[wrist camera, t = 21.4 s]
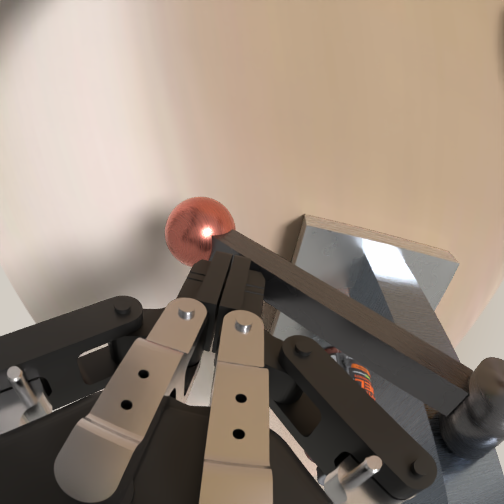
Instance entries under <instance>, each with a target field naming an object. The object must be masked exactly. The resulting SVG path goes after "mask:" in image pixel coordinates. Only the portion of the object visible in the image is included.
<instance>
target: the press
mask: <svg viewBox="0 0 504 504" xmlns="http://www.w3.org/2000/svg"><path fill="white" fill-rule="evenodd" d="M291 263H292V264H294V265H296V266H298V267H299V268H301V269H303V270H304V271H306V272H308V273H310V274H311V275H313V276H315V277H316V278H318V279H320V280H322V281H323V282H325V283H327V284H328V285H330V286H332V287H334V288H335V289H337V290H339V291H340V292H342V293H344V294H346V295H347V296H349V297H351V298H352V299H354V300H356V301H357V302H359V303H361V304H362V305H364V306H366V307H368V308H369V309H371V310H373V311H374V312H376V313H378V314H379V315H381V316H383V317H384V318H386V319H388V320H390V321H391V322H393V323H395V324H396V325H398V326H400V327H401V328H403V329H405V330H406V331H408V332H410V333H411V334H413V335H415V336H416V337H418V338H420V339H421V340H423V341H425V342H426V343H428V344H430V345H431V346H433V347H435V348H436V349H438V350H440V351H441V352H443V353H445V354H446V355H448V356H450V357H451V358H453V359H455V360H456V361H458V362H460V361H459V359H458V357H457V355H456V352H455V350H454V348H453V346H452V344H451V342H450V340H449V338H448V337H447V335H446V333H445V331H444V329H443V327H442V325H441V323H440V321H439V320H438V318H437V316H436V314H435V312H434V311H435V309H436V307H437V305H438V304H439V302H440V300H441V298H442V296H443V295H444V293H445V291H446V289H447V287H448V285H449V283H450V282H451V280H452V278H453V276H454V274H455V272H456V270H457V268H458V266H459V264H460V263H459V262H458V261H457V260H456V259H455V258H454V256H453V255H452V254H451V253H450V252H449V251H446V250H442V249H439V248H435V247H432V246H428V245H425V244H421V243H417V242H414V241H410V240H406V239H403V238H399V237H395V236H392V235H388V234H384V233H380V232H376V231H372V230H368V229H364V228H360V227H356V226H352V225H348V224H344V223H340V222H336V221H332V220H328V219H323V218H319V217H315V216H311V215H306V214H305V215H304V219H303V222H302V226H301V229H300V233H299V237H298V240H297V244H296V247H295V251H294V254H293V257H292V261H291ZM269 334H271V335H272V336H274V337H276V338H278V339H281V340H283V341H284V340H285V339H286V338H288V337H290V336H293V335H303V336H307V337H309V338H311V339H313V340H315V341H316V342H317V343H318V344H319V345H320V346H321V347H322V348H323V349H328V348H332V347H333V346H332V345H330V344H329V343H327V342H326V341H324V340H323V339H321V338H320V337H318V336H317V335H315V334H314V333H312V332H310V331H309V330H307V329H306V328H304V327H303V326H301V325H300V324H298V323H297V322H295V321H294V320H292V319H291V318H289V317H288V316H286V315H285V314H283V313H282V312H280V311H279V310H277V311H276V314H275V317H274V321H273V324H272V327H271V330H270V333H269ZM369 372H370V377H371V381H372V386H373V390H374V395H375V400H376V402H377V403H378V404H379V405H380V406H381V407H382V408H383V409H384V410H385V411H386V412H387V413H388V414H389V415H390V416H391V417H392V418H393V419H394V420H395V421H396V422H397V423H398V424H399V425H400V426H401V427H402V428H403V429H404V430H405V431H406V432H407V433H408V434H409V435H410V436H411V437H412V438H413V439H414V440H415V441H416V442H417V443H418V444H420V445H421V446H422V447H423V448H424V449H425V450H426V451H427V452H428V453H429V454H430V455H431V456H432V457H433V459H434V460H435V463H436V465H437V476H436V479H435V481H434V482H433V484H432V485H430V486H429V487H428V488H426V489H424V490H423V491H421V492H419V493H418V494H416V495H415V496H414V497H413V498H411V499H409V500H408V501H406V502H404V503H402V504H504V475H503V472H502V469H501V465H500V462H499V459H498V455H497V452H496V449H495V448H494V449H493V450H492V451H490V452H489V453H488V454H487V455H485V456H484V457H482V458H481V459H478V460H466V459H463V458H461V457H459V456H457V455H456V454H455V453H453V452H452V451H451V450H450V449H449V447H448V446H447V445H446V443H445V442H444V440H443V438H442V435H441V433H440V429H439V415H440V412H438V411H437V410H435V409H433V408H432V407H430V406H428V405H427V404H425V403H423V402H422V401H420V400H418V399H417V398H415V397H413V396H412V395H410V394H408V393H407V392H405V391H403V390H402V389H400V388H398V387H397V386H395V385H394V384H392V383H390V382H389V381H387V380H386V379H384V378H382V377H381V376H379V375H378V374H376V373H374V372H373V371H371V370H370V369H369Z"/></svg>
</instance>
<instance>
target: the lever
mask: <svg viewBox="0 0 504 504" xmlns="http://www.w3.org/2000/svg"><path fill="white" fill-rule="evenodd" d="M165 239H166V243H167V246H168V248H169V250H170V252H171V253H172V255H173V256H174V257H175V258H176V259H177V260H178V261H180V262H181V263H183V264H185V265H187V266H190V267H193V265H194V264H195V263H197V262H198V261H200V260H201V259H203V260H208V261H212V259H213V257H214V254H215V252H216V251H220V252H225V253H229V254H233V258H232V262H233V259H234V256H235V255H238V256H243V257H248V258H251V263H250V268H249V270H253V271H258V272H261V273H262V275H263V276H264V278H265V288H264V295H263V296H264V297H263V300H264V301H265V302H267V303H268V304H270V305H271V306H273V307H274V308H276V309H277V310H279V311H280V312H282V313H283V314H285V315H286V316H288V317H289V318H291V319H292V320H294V321H295V322H297V323H298V324H300V325H301V326H303V327H304V328H306V329H307V330H309V331H310V332H312V333H314V334H315V335H317V336H318V337H320V338H321V339H323V340H324V341H326V342H327V343H329V344H330V345H332V346H333V347H335V348H337V349H338V350H340V351H341V352H343V353H344V354H346V355H347V356H349V357H351V358H352V359H354V360H355V361H357V362H358V363H360V364H362V365H363V366H365V367H366V368H368V369H370V370H371V371H373V372H374V373H376V374H378V375H379V376H381V377H382V378H384V379H386V380H387V381H389V382H390V383H392V384H394V385H395V386H397V387H398V388H400V389H402V390H403V391H405V392H407V393H408V394H410V395H412V396H413V397H415V398H417V399H418V400H420V401H422V402H423V403H425V404H427V405H428V406H430V407H432V408H433V409H435V410H437V411H438V412H440V415H439V429H440V433H441V435H442V438H443V440H444V442H445V443H446V445H447V446H448V447H449V449H450V450H451V451H452V452H453V453H455V454H456V455H457V456H459V457H461V458H463V459H466V460H478V459H481V458H482V457H484V456H485V455H487V454H488V453H489V452H490V451H492V450H493V449H494V448H495V447H496V446H498V445H499V444H500V443H501V442H502V441H503V440H504V360H502V359H499V358H495V357H489V358H486V359H484V360H483V361H482V362H481V363H480V364H479V365H478V367H477V368H476V369H475V371H474V372H473V371H472V370H471V369H470V368H468V367H466V366H464V365H463V364H461V363H460V362H458V361H456V360H455V359H453V358H451V357H450V356H448V355H446V354H445V353H443V352H441V351H440V350H438V349H436V348H435V347H433V346H431V345H430V344H428V343H426V342H425V341H423V340H421V339H420V338H418V337H416V336H415V335H413V334H411V333H410V332H408V331H406V330H405V329H403V328H401V327H400V326H398V325H396V324H395V323H393V322H391V321H390V320H388V319H386V318H384V317H383V316H381V315H379V314H378V313H376V312H374V311H373V310H371V309H369V308H368V307H366V306H364V305H362V304H361V303H359V302H357V301H356V300H354V299H352V298H351V297H349V296H347V295H346V294H344V293H342V292H340V291H339V290H337V289H335V288H334V287H332V286H330V285H328V284H327V283H325V282H323V281H322V280H320V279H318V278H316V277H315V276H313V275H311V274H310V273H308V272H306V271H304V270H303V269H301V268H299V267H298V266H296V265H294V264H292V263H291V262H289V261H287V260H286V259H284V258H282V257H280V256H279V255H277V254H275V253H273V252H272V251H270V250H268V249H267V248H265V247H263V246H261V245H260V244H258V243H256V242H254V241H253V240H251V239H249V238H247V237H246V236H244V235H242V234H240V233H239V232H237V231H236V230H235V223H234V220H233V218H232V216H231V214H230V212H229V211H228V210H227V208H226V207H225V206H223V205H222V204H221V203H220V202H218V201H216V200H214V199H211V198H207V197H194V198H190V199H187V200H185V201H183V202H181V203H180V204H179V205H177V206H176V207H175V208H174V209H173V211H172V212H171V213H170V215H169V217H168V219H167V222H166V226H165ZM231 266H232V264H231Z"/></svg>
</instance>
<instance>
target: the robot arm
mask: <svg viewBox="0 0 504 504" xmlns="http://www.w3.org/2000/svg"><path fill="white" fill-rule="evenodd" d="M232 258H233V254H229V253H225V252H220V251H216V252H215V254H214V257H213V259H212V261H208V260H203V259H201V260H200V261H198V262H197V263H195V264H194V265H193V267H192V269H191V271H190V273H189V275H188V277H187V279H186V281H185V283H184V284H183V286H182V288H181V290H180V292H179V294H178V297H177V299H174V300H173V301H171V302H170V303H169V304H168V305H167V307H165V308H161V309H143V308H142V305H141V303H140V302H139V301H138V300H137V299H135V298H133V297H129V296H116V297H113V298H110V299H107V300H104V301H101V302H98V303H96V304H93V305H90V306H87V307H84V308H81V309H78V310H75V311H72V312H69V313H67V314H64V315H61V316H58V317H55V318H52V319H49V320H46V321H43V322H40V323H38V324H35V325H32V326H29V327H26V328H23V329H20V330H17V331H15V332H12V333H9V334H6V335H3V336H0V504H402V503H404V502H406V501H408V500H409V499H411V498H413V497H414V496H415V495H416V494H418V493H419V492H421V491H423V490H424V489H426V488H428V487H429V486H430V485H432V484H433V482H434V481H435V479H436V476H437V465H436V463H435V460H434V459H433V457H432V456H431V455H430V454H429V453H428V452H427V451H426V450H425V449H424V448H423V447H422V446H421V445H420V444H418V443H417V442H416V441H415V440H414V439H413V438H412V437H411V436H410V435H409V434H408V433H407V432H406V431H405V430H404V429H403V428H402V427H401V426H400V425H399V424H398V423H397V422H396V421H395V420H394V419H393V418H392V417H391V416H390V415H389V414H388V413H387V412H386V411H385V410H384V409H383V408H382V407H381V406H380V405H379V404H378V403H377V402H376V401H375V400H374V399H373V398H372V397H371V396H370V395H369V394H368V393H367V392H366V391H365V390H364V389H363V388H362V387H361V386H360V385H359V384H358V383H357V382H356V381H355V380H354V379H353V378H352V377H351V376H350V375H349V374H348V373H347V372H346V371H345V370H344V369H343V368H342V367H341V366H340V365H339V364H338V363H337V362H336V361H335V360H334V359H333V358H332V357H331V356H330V355H329V354H328V353H327V352H326V351H325V350H324V349H323V348H322V347H321V346H320V345H319V344H318V343H317V342H316V341H315V340H313V339H311V338H309V337H307V336H303V335H293V336H290V337H288V338H286V339H285V340H284V341H283V340H281V339H278V338H276V337H274V336H272V335H271V334H269V333H268V332H267V331H266V330H265V329H264V324H263V321H262V320H261V314H262V305H263V297H264V296H263V295H264V288H265V278H264V276H263V275H262V273H261V272H258V271H253V270H249V268H250V263H251V258H248V257H243V256H238V255H235V256H234V259H233V262H232ZM231 264H232V266H231ZM214 333H215V335H214ZM213 337H214V341H213V348H212V352H214V353H215V359H214V366H215V369H214V376H213V383H212V390H211V396H210V403H209V407H207V406H189V405H186V404H185V402H186V400H187V397H188V395H189V392H190V390H191V387H192V385H193V382H194V380H195V377H196V375H197V372H198V370H199V367H200V363H201V356H202V352H203V350H205V351H210V347H211V344H212V340H213ZM106 343H108V346H106V347H104V348H102V349H99V350H97V351H94V352H92V353H89V354H87V355H84V356H82V357H79V356H80V355H81V354H82V353H83V352H86V351H88V350H91V349H93V348H96V347H98V346H101V345H103V344H106ZM78 357H79V358H78ZM104 388H105V389H104ZM102 389H104V390H103V391H99V390H102ZM97 391H99V392H97ZM95 392H96V393H95ZM90 394H91V395H90ZM88 395H89V396H88ZM83 397H84V398H83ZM81 398H82V399H81ZM78 399H80V400H78ZM76 400H78V401H76ZM74 401H76V402H74ZM72 402H74V403H72ZM69 403H72V404H69ZM67 404H69V405H67ZM65 405H67V406H65ZM62 406H65V407H63V408H61V409H59V410H56V411H54V412H52V410H55V409H57V408H60V407H62ZM269 407H270V408H271V409H272V411H273V412H274V413H275V415H276V416H277V417H278V418H279V420H280V421H281V422H282V423H283V425H284V426H285V427H286V428H287V430H288V431H289V432H290V433H291V435H292V436H293V437H294V438H295V440H296V441H297V442H298V443H299V444H300V446H301V447H302V448H303V449H304V450H305V452H306V453H307V454H308V455H309V456H310V458H311V459H312V460H313V461H314V462H315V464H316V465H317V466H318V467H319V468H320V469H321V470H322V472H323V473H324V474H325V475H326V478H325V481H324V490H325V491H324V490H323V489H322V488H321V487H320V486H319V484H318V483H317V482H316V480H315V479H314V478H313V477H312V475H311V474H310V473H309V471H308V470H307V469H306V468H305V466H304V465H303V464H302V462H301V461H300V460H299V459H298V457H297V456H296V455H295V453H294V452H293V451H292V449H291V448H290V447H289V445H288V444H287V443H286V442H285V441H284V440H283V439H282V438H281V437H280V436H279V435H278V434H277V433H276V432H274V431H273V430H271V429H270V428H269Z"/></svg>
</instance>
